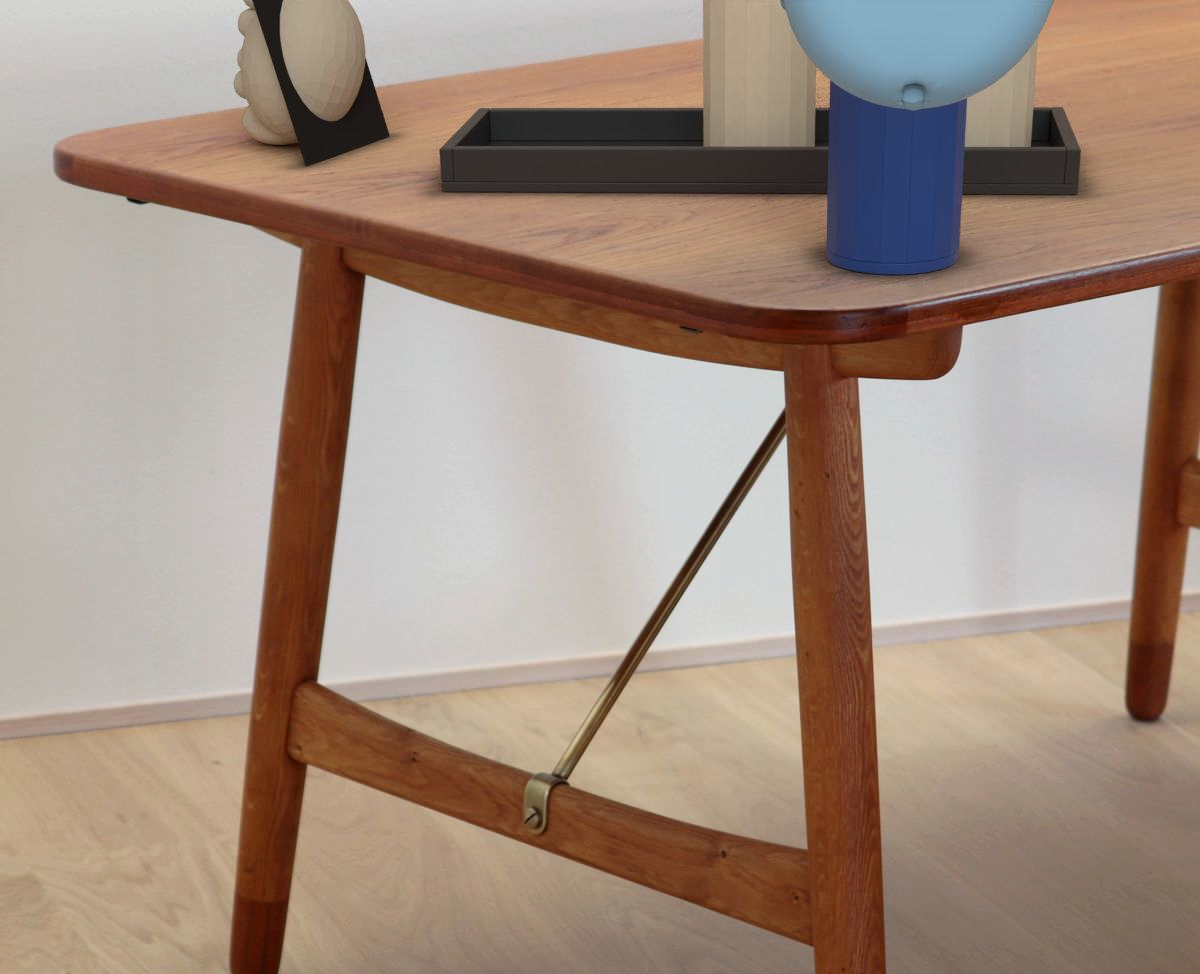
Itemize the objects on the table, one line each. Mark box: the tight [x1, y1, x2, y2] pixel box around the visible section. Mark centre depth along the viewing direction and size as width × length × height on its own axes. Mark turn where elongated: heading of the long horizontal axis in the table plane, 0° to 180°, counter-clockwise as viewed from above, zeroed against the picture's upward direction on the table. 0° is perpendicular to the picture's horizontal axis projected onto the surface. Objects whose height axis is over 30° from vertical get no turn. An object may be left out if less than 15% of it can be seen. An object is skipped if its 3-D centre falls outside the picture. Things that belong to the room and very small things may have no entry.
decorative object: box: [233, 0, 391, 167], centre depth 127 cm, size 13×10×10 cm
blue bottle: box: [825, 79, 967, 276], centre depth 97 cm, size 7×7×16 cm
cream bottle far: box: [965, 36, 1039, 147], centre depth 114 cm, size 7×7×16 cm
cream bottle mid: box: [702, 0, 817, 147], centre depth 116 cm, size 7×7×16 cm
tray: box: [438, 106, 1082, 195], centre depth 119 cm, size 38×13×3 cm, turn 82°
